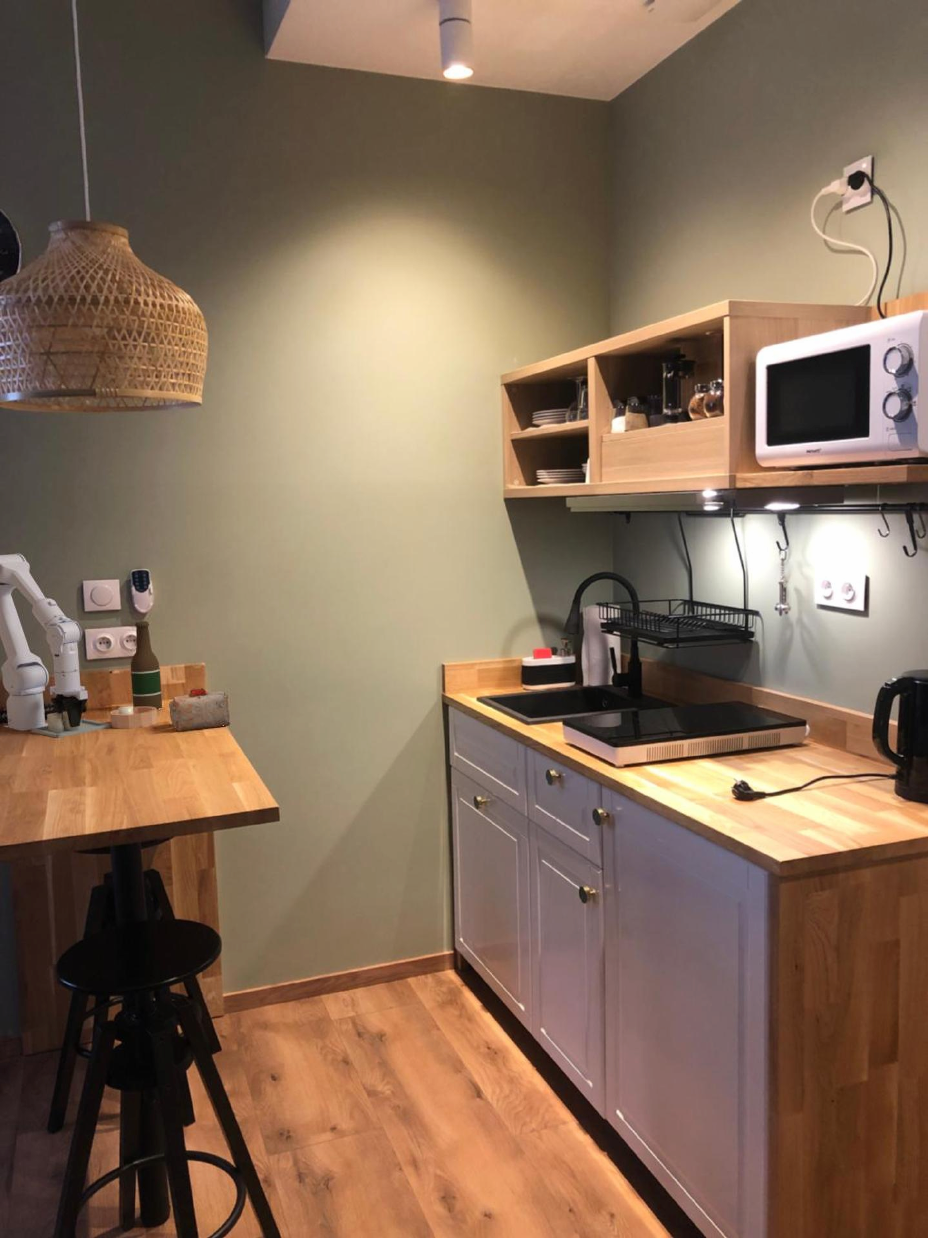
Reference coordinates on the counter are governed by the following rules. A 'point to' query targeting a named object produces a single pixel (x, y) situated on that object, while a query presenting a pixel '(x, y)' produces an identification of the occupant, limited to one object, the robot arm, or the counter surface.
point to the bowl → (134, 718)
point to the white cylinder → (55, 723)
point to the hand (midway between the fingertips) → (71, 725)
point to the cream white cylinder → (126, 710)
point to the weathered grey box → (199, 710)
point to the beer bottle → (145, 671)
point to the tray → (84, 727)
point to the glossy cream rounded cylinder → (67, 723)
